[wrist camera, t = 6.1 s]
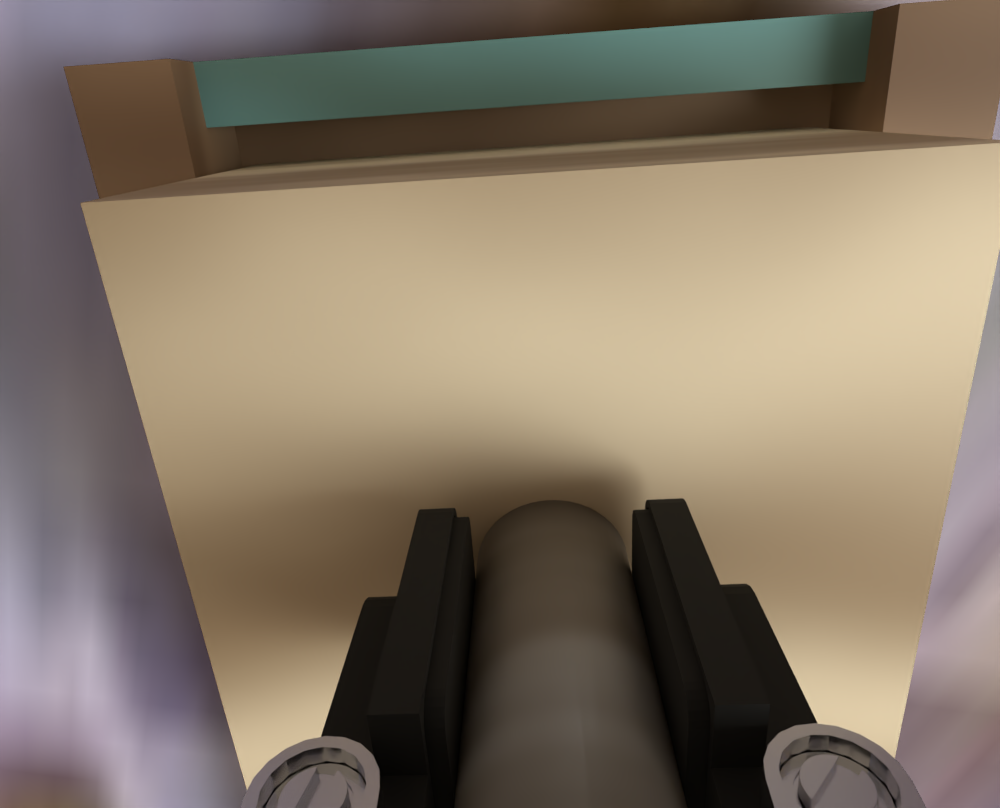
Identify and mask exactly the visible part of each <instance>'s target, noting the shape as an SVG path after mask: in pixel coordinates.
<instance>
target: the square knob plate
mask: <svg viewBox="0 0 1000 808" xmlns="http://www.w3.org/2000/svg"><path fill="white" fill-rule="evenodd" d="M81 207H82V211H83V214H84V218H85V221H86V225H87V228H88V232H89V235H90V239H91V242H92V246H93V249H94V253H95V256H96V260H97V263H98V267H99V270H100V274H101V277H102V281H103V285H104V288H105V292H106V295H107V299H108V302H109V306H110V309H111V313H112V316H113V320H114V323H115V327H116V330H117V334H118V337H119V341H120V344H121V348H122V351H123V355H124V358H125V362H126V366H127V369H128V373H129V376H130V380H131V383H132V387H133V390H134V394H135V397H136V401H137V404H138V408H139V411H140V415H141V418H142V422H143V425H144V429H145V432H146V436H147V440H148V443H149V447H150V450H151V454H152V457H153V461H154V464H155V468H156V471H157V475H158V478H159V482H160V485H161V489H162V492H163V496H164V499H165V503H166V506H167V510H168V513H169V517H170V521H171V524H172V528H173V531H174V535H175V538H176V542H177V545H178V549H179V552H180V556H181V559H182V563H183V566H184V570H185V573H186V577H187V580H188V584H189V587H190V591H191V595H192V598H193V602H194V605H195V609H196V612H197V616H198V619H199V623H200V626H201V630H202V633H203V637H204V640H205V644H206V647H207V651H208V654H209V658H210V661H211V665H212V669H213V672H214V676H215V679H216V683H217V686H218V690H219V693H220V697H221V700H222V704H223V707H224V711H225V714H226V718H227V721H228V725H229V728H230V732H231V735H232V739H233V742H234V746H235V750H236V753H237V757H238V760H239V764H240V767H241V771H242V774H243V778H244V781H245V785H246V788H247V789H248V788H249V786H250V784H251V782H252V780H253V778H254V777H255V776H256V774H257V773H258V772H259V771H260V770H261V769H262V768H263V767H264V765H265V764H266V763H267V762H268V761H269V760H271V759H272V758H273V757H275V756H276V755H278V754H279V753H280V752H282V751H283V750H285V749H286V748H288V747H290V746H293V745H295V744H297V743H300V742H302V741H304V740H307V739H313V738H318V737H321V735H322V731H323V728H324V725H325V722H326V719H327V716H328V712H329V709H330V706H331V703H332V700H333V697H334V694H335V690H336V687H337V684H338V681H339V678H340V675H341V672H342V668H343V665H344V662H345V659H346V656H347V653H348V650H349V646H350V643H351V640H352V637H353V634H354V631H355V627H356V624H357V621H358V618H359V615H360V612H361V609H362V606H363V604H364V601H365V600H366V599H367V598H368V597H387V596H397V593H398V589H399V585H400V581H401V577H402V573H403V569H404V565H405V561H406V557H407V553H408V550H409V546H410V542H411V538H412V534H413V530H414V526H415V522H416V518H417V514H418V511H419V510H420V509H439V508H455V509H456V513H457V517H469V518H470V525H471V535H472V546H473V556H474V567H475V578H476V583H475V594H474V604H473V615H472V625H471V636H470V646H469V657H468V667H467V678H466V688H465V699H464V709H463V720H462V730H461V741H460V751H459V761H458V772H457V782H456V793H455V803H454V808H687V804H686V800H685V795H684V791H683V787H682V783H681V779H680V774H679V770H678V766H677V762H676V758H675V753H674V749H673V745H672V741H671V737H670V732H669V728H668V724H667V720H666V716H665V711H664V707H663V703H662V699H661V695H660V690H659V686H658V682H657V678H656V674H655V669H654V665H653V661H652V657H651V652H650V648H649V644H648V640H647V636H646V631H645V627H644V623H643V619H642V615H641V610H640V606H639V602H638V598H637V594H636V589H635V585H634V581H633V577H632V513H633V510H642V509H645V503H646V500H653V499H677V498H683V499H684V500H685V501H686V503H687V506H688V508H689V510H690V513H691V515H692V518H693V520H694V522H695V525H696V527H697V530H698V532H699V534H700V537H701V539H702V542H703V544H704V546H705V549H706V551H707V554H708V556H709V558H710V561H711V563H712V565H713V568H714V570H715V573H716V575H717V577H718V580H719V582H720V585H721V584H748V585H750V586H751V588H752V589H753V591H754V592H755V594H756V596H757V598H758V600H759V603H760V605H761V607H762V609H763V611H764V613H765V615H766V617H767V619H768V621H769V623H770V625H771V627H772V629H773V632H774V634H775V636H776V638H777V640H778V642H779V644H780V646H781V648H782V650H783V652H784V654H785V656H786V659H787V661H788V663H789V665H790V667H791V669H792V671H793V673H794V675H795V677H796V679H797V681H798V683H799V686H800V688H801V690H802V692H803V694H804V696H805V698H806V700H807V702H808V704H809V706H810V708H811V710H812V713H813V715H814V717H815V719H816V721H817V723H818V724H825V725H832V726H838V727H841V728H844V729H847V730H850V731H852V732H855V733H858V734H860V735H862V736H864V737H866V738H867V739H869V740H871V741H873V742H874V743H876V744H878V745H879V746H881V747H882V748H883V749H884V750H886V751H887V752H888V753H889V754H890V755H891V756H892V757H893V758H895V754H896V749H897V744H898V740H899V735H900V730H901V725H902V720H903V715H904V710H905V706H906V701H907V696H908V691H909V686H910V681H911V676H912V672H913V667H914V662H915V657H916V652H917V647H918V642H919V638H920V633H921V628H922V623H923V618H924V613H925V609H926V604H927V599H928V594H929V589H930V584H931V579H932V575H933V570H934V565H935V560H936V555H937V550H938V545H939V541H940V536H941V531H942V526H943V521H944V516H945V511H946V507H947V502H948V497H949V492H950V487H951V482H952V477H953V473H954V468H955V463H956V458H957V453H958V448H959V444H960V439H961V434H962V429H963V424H964V419H965V414H966V410H967V405H968V400H969V395H970V390H971V385H972V380H973V376H974V371H975V366H976V361H977V356H978V351H979V346H980V342H981V337H982V332H983V327H984V322H985V317H986V312H987V308H988V303H989V298H990V293H991V288H992V283H993V279H994V274H995V269H996V264H997V259H998V254H999V249H1000V140H991V139H976V138H962V137H947V136H932V135H917V134H903V133H888V132H873V131H858V130H844V129H829V128H814V127H803V128H788V129H774V130H759V131H744V132H729V133H714V134H699V135H684V136H669V137H654V138H640V139H625V140H610V141H595V142H580V143H565V144H550V145H535V146H520V147H505V148H491V149H476V150H461V151H446V152H431V153H416V154H401V155H386V156H371V157H357V158H342V159H327V160H312V161H297V162H282V163H267V164H258V165H253V166H249V167H244V168H240V169H235V170H230V171H226V172H221V173H216V174H212V175H207V176H203V177H198V178H193V179H189V180H184V181H179V182H175V183H170V184H166V185H161V186H156V187H152V188H147V189H142V190H138V191H133V192H129V193H124V194H119V195H115V196H110V197H105V198H101V199H96V200H92V201H87V202H82V203H81Z"/></svg>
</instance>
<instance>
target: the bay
mask: <svg viewBox="0 0 1000 808" xmlns="http://www.w3.org/2000/svg"><path fill="white" fill-rule="evenodd" d="M64 70H65V74H66V78H67V81H68V85H69V89H70V92H71V96H72V100H73V103H74V107H75V111H76V114H77V118H78V122H79V125H80V129H81V133H82V136H83V140H84V144H85V147H86V151H87V155H88V158H89V162H90V166H91V169H92V173H93V177H94V180H95V184H96V188H97V191H98V195H99V198H100V199H101V198H105V197H110V196H115V195H119V194H124V193H129V192H133V191H138V190H142V189H147V188H152V187H156V186H161V185H166V184H170V183H175V182H179V181H184V180H189V179H193V178H198V177H203V176H207V175H212V174H216V173H221V172H226V171H230V170H235V169H240V168H244V167H249V166H253V165H258V164H267V163H282V162H297V161H312V160H327V159H342V158H357V157H371V156H386V155H401V154H416V153H431V152H446V151H461V150H476V149H491V148H505V147H520V146H535V145H550V144H565V143H580V142H595V141H610V140H625V139H640V138H654V137H669V136H684V135H699V134H714V133H729V132H744V131H759V130H774V129H788V128H803V127H814V128H829V129H844V130H858V131H873V132H888V133H903V134H917V135H932V136H947V137H962V138H976V139H991V140H992V136H993V130H994V125H995V120H996V115H997V109H998V104H999V99H1000V0H945V1H931V2H918V3H905V4H898V5H894V6H890V7H887V8H883V9H879V10H876V11H868V12H855V13H842V14H828V15H815V16H802V17H788V18H775V19H762V20H748V21H735V22H721V23H708V24H695V25H681V26H668V27H655V28H641V29H628V30H615V31H601V32H588V33H574V34H561V35H548V36H534V37H521V38H508V39H494V40H481V41H468V42H454V43H441V44H428V45H414V46H401V47H387V48H374V49H361V50H347V51H334V52H321V53H307V54H294V55H281V56H267V57H254V58H241V59H227V60H214V61H200V62H189V61H182V60H174V59H160V60H147V61H134V62H120V63H107V64H94V65H81V66H67V67H64Z"/></svg>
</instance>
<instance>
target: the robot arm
mask: <svg viewBox="0 0 1000 808" xmlns="http://www.w3.org/2000/svg"><path fill="white" fill-rule="evenodd" d="M632 577H633V581H634V585H635V589H636V594H637V598H638V602H639V606H640V610H641V615H642V619H643V623H644V627H645V631H646V636H647V640H648V644H649V648H650V652H651V657H652V661H653V665H654V669H655V674H656V678H657V682H658V686H659V690H660V695H661V699H662V703H663V707H664V711H665V716H666V720H667V724H668V728H669V732H670V737H671V741H672V745H673V749H674V753H675V758H676V762H677V766H678V770H679V774H680V779H681V783H682V787H683V791H684V795H685V800H686V804H687V808H926V806H925V804H924V802H923V800H922V798H921V797H920V795H919V793H918V791H917V789H916V787H915V785H914V783H913V781H912V780H911V779H910V777H909V776H908V774H907V773H906V771H905V770H904V769H903V767H902V766H901V764H900V763H899V762H898V761H897V760H896V759H895V758H893V757H892V756H891V755H890V754H889V753H888V752H887V751H886V750H884V749H883V748H882V747H881V746H879V745H878V744H876V743H874V742H873V741H871V740H869V739H867V738H866V737H864V736H862V735H860V734H858V733H855V732H852V731H850V730H847V729H844V728H841V727H838V726H832V725H825V724H818V723H817V721H816V719H815V717H814V715H813V713H812V710H811V708H810V706H809V704H808V702H807V700H806V698H805V696H804V694H803V692H802V690H801V688H800V686H799V683H798V681H797V679H796V677H795V675H794V673H793V671H792V669H791V667H790V665H789V663H788V661H787V659H786V656H785V654H784V652H783V650H782V648H781V646H780V644H779V642H778V640H777V638H776V636H775V634H774V632H773V629H772V627H771V625H770V623H769V621H768V619H767V617H766V615H765V613H764V611H763V609H762V607H761V605H760V603H759V600H758V598H757V596H756V594H755V592H754V591H753V589H752V588H751V586H750V585H748V584H721V585H720V582H719V580H718V577H717V575H716V573H715V570H714V568H713V565H712V563H711V561H710V558H709V556H708V554H707V551H706V549H705V546H704V544H703V542H702V539H701V537H700V534H699V532H698V530H697V527H696V525H695V522H694V520H693V518H692V515H691V513H690V510H689V508H688V506H687V503H686V501H685V500H684V499H683V498H677V499H653V500H646V503H645V509H642V510H633V513H632ZM475 583H476V578H475V567H474V556H473V546H472V535H471V525H470V518H469V517H457V513H456V509H455V508H439V509H420V510H419V511H418V514H417V518H416V522H415V526H414V530H413V534H412V538H411V542H410V546H409V550H408V553H407V557H406V561H405V565H404V569H403V573H402V577H401V581H400V585H399V589H398V593H397V596H387V597H368V598H367V599H366V600H365V601H364V604H363V606H362V609H361V612H360V615H359V618H358V621H357V624H356V627H355V631H354V634H353V637H352V640H351V643H350V646H349V650H348V653H347V656H346V659H345V662H344V665H343V668H342V672H341V675H340V678H339V681H338V684H337V687H336V690H335V694H334V697H333V700H332V703H331V706H330V709H329V712H328V716H327V719H326V722H325V725H324V728H323V731H322V735H321V737H318V738H313V739H307V740H304V741H302V742H300V743H297V744H295V745H293V746H290V747H288V748H286V749H285V750H283V751H282V752H280V753H279V754H278V755H276V756H275V757H273V758H272V759H271V760H269V761H268V762H267V763H266V764H265V765H264V767H263V768H262V769H261V770H260V771H259V772H258V773H257V774H256V776H255V777H254V778H253V780H252V782H251V784H250V786H249V788H248V789H247V791H246V793H245V795H244V798H243V801H242V804H241V806H240V808H454V803H455V793H456V782H457V772H458V761H459V751H460V741H461V730H462V720H463V709H464V699H465V688H466V678H467V667H468V657H469V646H470V636H471V625H472V615H473V604H474V594H475Z"/></svg>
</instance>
